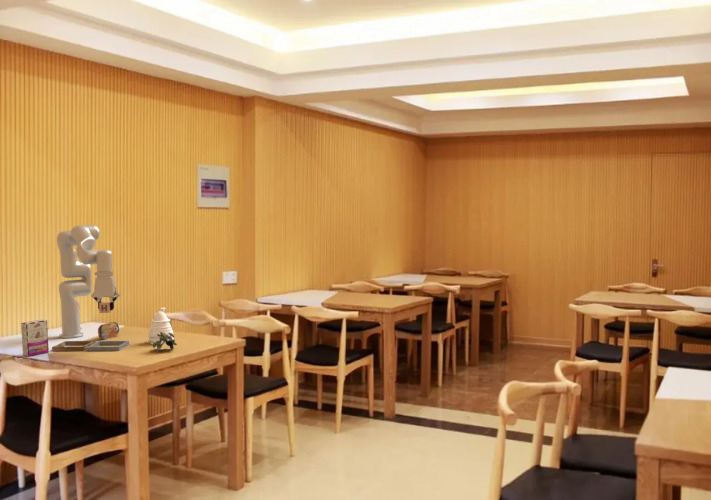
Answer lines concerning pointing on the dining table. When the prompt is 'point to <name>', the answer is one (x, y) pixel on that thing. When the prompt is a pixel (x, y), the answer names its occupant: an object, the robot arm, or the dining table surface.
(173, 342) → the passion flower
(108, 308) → the letter cube
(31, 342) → the candy bar box
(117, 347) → the grey frame
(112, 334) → the tin
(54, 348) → the walnut frame
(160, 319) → the honey pot
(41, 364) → the dining table surface
